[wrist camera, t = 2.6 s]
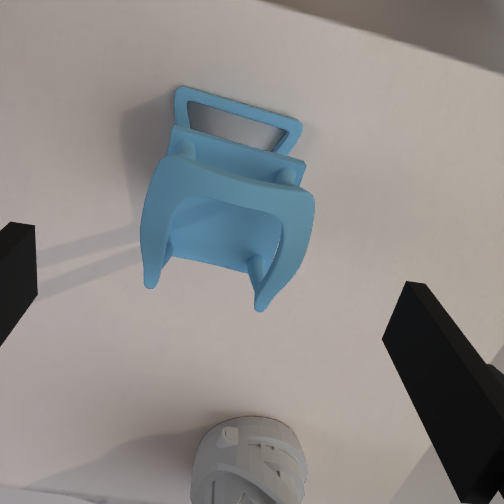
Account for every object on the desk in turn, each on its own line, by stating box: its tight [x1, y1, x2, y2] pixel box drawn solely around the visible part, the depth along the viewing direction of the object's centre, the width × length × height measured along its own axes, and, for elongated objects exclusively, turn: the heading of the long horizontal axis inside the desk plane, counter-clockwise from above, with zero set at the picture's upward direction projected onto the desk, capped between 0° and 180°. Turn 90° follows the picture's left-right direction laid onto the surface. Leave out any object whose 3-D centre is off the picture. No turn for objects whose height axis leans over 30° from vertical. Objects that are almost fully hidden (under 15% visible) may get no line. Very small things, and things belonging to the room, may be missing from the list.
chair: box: [140, 86, 315, 312], centre depth 22 cm, size 8×8×12 cm
